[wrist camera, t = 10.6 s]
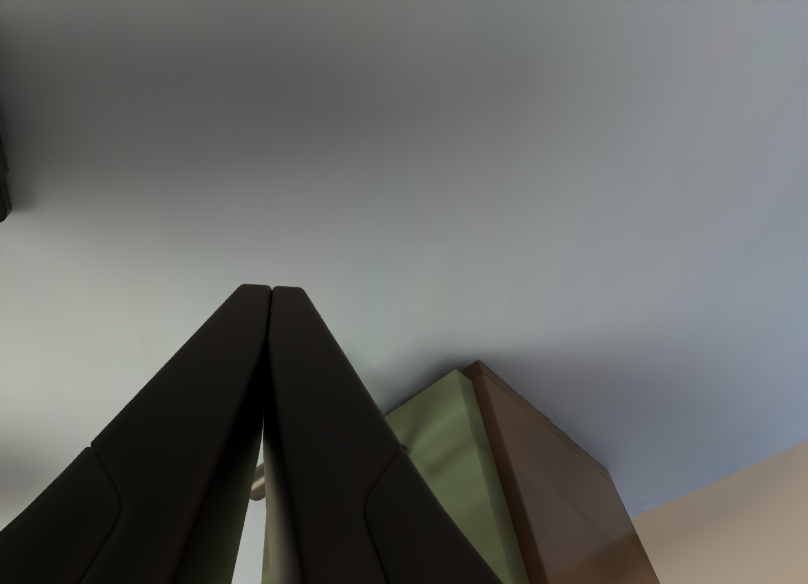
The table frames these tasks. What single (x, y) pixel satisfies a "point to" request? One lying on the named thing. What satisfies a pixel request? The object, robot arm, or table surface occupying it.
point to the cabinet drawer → (450, 471)
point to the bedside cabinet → (557, 496)
